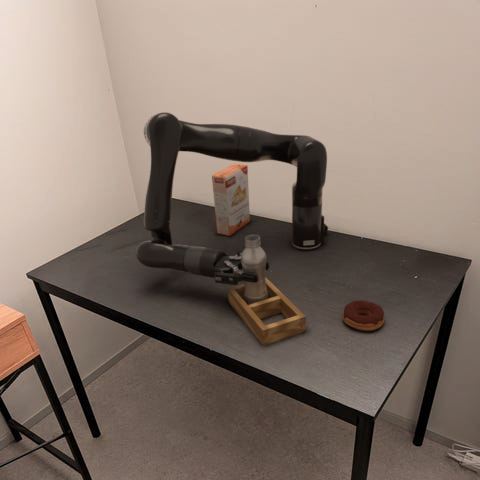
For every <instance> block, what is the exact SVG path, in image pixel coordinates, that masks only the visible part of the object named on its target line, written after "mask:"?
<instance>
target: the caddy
mask: <svg viewBox="0 0 480 480" xmlns="http://www.w3.org/2000/svg"><path fill="white" fill-rule="evenodd" d="M265 281H266V288H267V292H268V296H269V299H266V300H263V301H260V302H256V303H253V304H250V305H247V304H246V303H245V301H244V293H245V283H241V284H237V285H233V286H231V287H228V288H227V297H228V303H229V305H230V306H231V308H232V309H233V310H234V311H235V312H236V313H237V315H238V316H239V317H240V318H241V320H242V321H243V322H244V323H245V324H246V326H247V327H248V328H249V330H250V331H251V332H252V333H253V335H254V336H255V337H256V338H257V339H258V341H259V342H260V343H261V344H262V346H266V345H267V346H268V345H269V344H272V343H276V342H279V341H282V340H284V339H287V338H290V337H291V338H292V336H293V337H294V336H297V335H299V334H302V333H305V332H306V329H307V328H306V323H307V321H306V320H307V319H306V318H307V317H306V315H305V314H304V313H303V312H302V311H301V310H300V309H299V308H298V307H297V306H295V304H294V303H292V301H291V300H289V299H288V297H287V296H285V294H284V293H282V292H281V291H280V290H279V289H278V287H276V286H275V285H274V284H273V283H272V282H271V281H270V280H269V279H268V278H267V277H266V276H265ZM278 314H282V315H283V316H284V317H285V319H281V320H279V321H275V322H272V323H269V324H266V325H265V323H264V322H263V321H262V319H266V318H269V317H272V316H275V315H278Z"/></svg>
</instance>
